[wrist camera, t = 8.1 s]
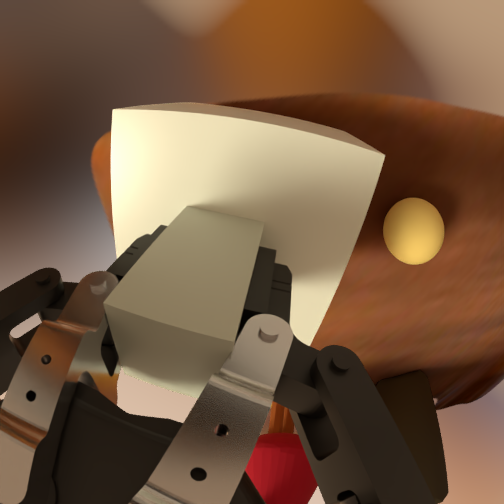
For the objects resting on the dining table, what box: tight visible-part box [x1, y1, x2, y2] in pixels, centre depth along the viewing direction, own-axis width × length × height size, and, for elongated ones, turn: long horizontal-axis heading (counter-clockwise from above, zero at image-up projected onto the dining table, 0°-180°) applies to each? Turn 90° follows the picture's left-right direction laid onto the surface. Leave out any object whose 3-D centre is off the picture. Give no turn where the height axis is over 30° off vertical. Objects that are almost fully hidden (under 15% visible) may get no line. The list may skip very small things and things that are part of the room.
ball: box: [383, 198, 444, 264], centre depth 18 cm, size 5×5×5 cm
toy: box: [245, 401, 318, 504], centre depth 21 cm, size 27×11×30 cm, turn 30°
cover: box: [103, 102, 385, 398], centre depth 13 cm, size 11×11×15 cm
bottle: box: [376, 370, 448, 504], centre depth 23 cm, size 8×16×25 cm, turn 20°
